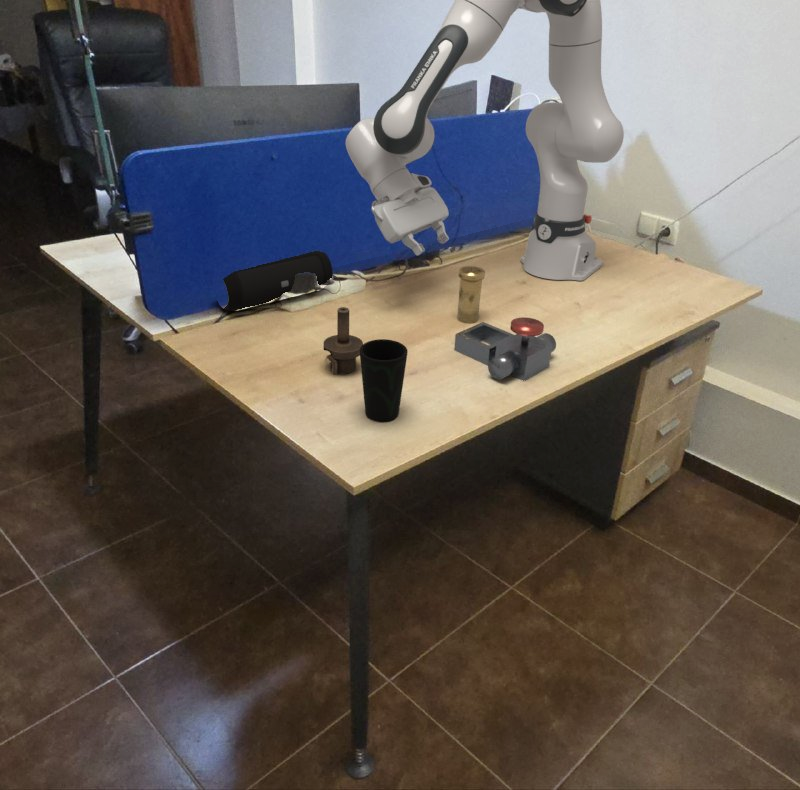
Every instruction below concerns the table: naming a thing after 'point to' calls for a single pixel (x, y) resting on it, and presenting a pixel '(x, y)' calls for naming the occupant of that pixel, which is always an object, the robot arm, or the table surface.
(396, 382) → the cup
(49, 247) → the table surface
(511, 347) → the valve body
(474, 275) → the pipe stub
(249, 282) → the portable speaker
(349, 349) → the industrial component
